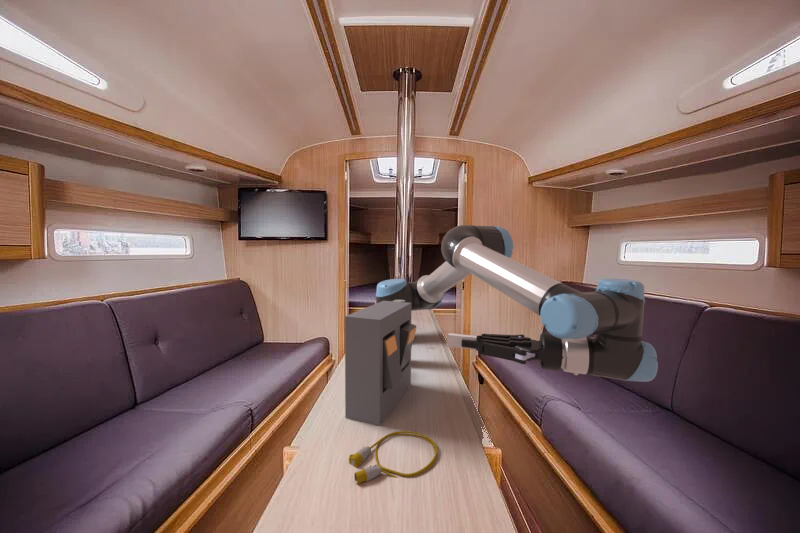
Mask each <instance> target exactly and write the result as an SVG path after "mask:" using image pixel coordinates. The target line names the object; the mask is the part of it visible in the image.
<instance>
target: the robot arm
mask: <svg viewBox="0 0 800 533" xmlns="http://www.w3.org/2000/svg"><path fill="white" fill-rule="evenodd" d="M440 250H441V254H442V257H443V259H444V260H445V261H444V262H443V263H442V264H441V265H440V266H438V267H437V268H436V269H435V270H434V271H432V272H431V273H430V274H429V275H428V274H426V275H425V274H424V275H422V276H421V277H419V278H418V279H416V281H407V280H406V279H404V278H389V279H386V280H382V281H380V282H378V283H377V285H376V292H375V297H376V298H375V300H376V301H375V304H377V303H379V302H381V301H393V300H405V301H406V302H408V303H412V312H413V311H423V310H433V309H436V308H438V307H439V306H441V304H442V301H443V299H444V294H445V293H447V291H448V290H450V289H452V288H454V286H456V285H458V284H459V283H461V282H462V281H463V280H464V279H466V278H468V277H469V276H470V275H473V276H475V277H476V278H477V279H479V280H481V281H483V282H484V283H486V284H487V285H489V286H491V287H493V288H494V289H496V290H498V291H499V292H500V293H502V294H503V295H505V296H507V297H508V298H510V299H512V300H513V301H515V302H517V303H518V304H519V305H521V306H523V307H524V308H526V309H527V310H530V311H531V312H533V313H535V314H536V315H538V316H539V317H540V321H541V324H542V325H543V326H544V327H545V329H546V332H544V331H543V332H542V333H540V335H539V340H536V339H532V338H531V337H527V336H525V335H524V334H500V333H499V334H495V333H481V334H480V335H472V334H462V333H461V334H460V333H451V332H449V333H448V334H447V347H451V348H459V349H466V350H467V349H468V350H475V351H477V352H478V355H483V356H488V357H491V358H492V357H493V358H498V359H501V360H502V359H503V360H507V361H512V362H516V363H519V364H521V365H526V364H527V361H529V362H530V361H539V367H540V368H541V369H543V370H549V371H556V372H560V370H561V369H562V370H563V372H566V373H571V374H573V375H574V376H578V375H579V374H581V375H587V376H588V375H589V376H595V377H601V378H607V379H608V378H609V379H615V380H622V381H625V382H628V381H629V382H640V383H641V382H643V383H644V382H646V383H647V382H651V381H652V380H654V379H655V378H656V376H657V373H658V368H659V362H658V355H657V351H656V349H655V347H654V346H653V344H651V343H649V342H645V341H643V338H642V337H643V327H644V326H643V325H644V312H645V304H646V299H645V285H644V283H642V282H641V281H640V280H635V279H627V278H625V279H624V278H602V279H600V280H599V281H598V282H597V285H596V289H595V291H588V292H582V291H579V290H578V289H575V288H572V287H570V286H568V285H567V284H564V283H563V282H561V281H559V280H557V279H555V278H552V277H550V276H548V275H546V274H544V273H542V272H540V271H537V270H536V269H533V268H531V267H529V266H527V265H525V264H523V263H521V262H518V261H517V260H515V259H513V258H512V256H513V250H514V242H513V238H512V236H511V234H510V232H509V231H508V230H507V229H506V228H504V227H501V226H497V225H473V224H472V225H470V224H462V225H461V224H459V225H457V226H455V227H452V228H451V229H449V230H448V231H447V232H446V234H444V236H443V238H442V240H441V247H440Z"/></svg>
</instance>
